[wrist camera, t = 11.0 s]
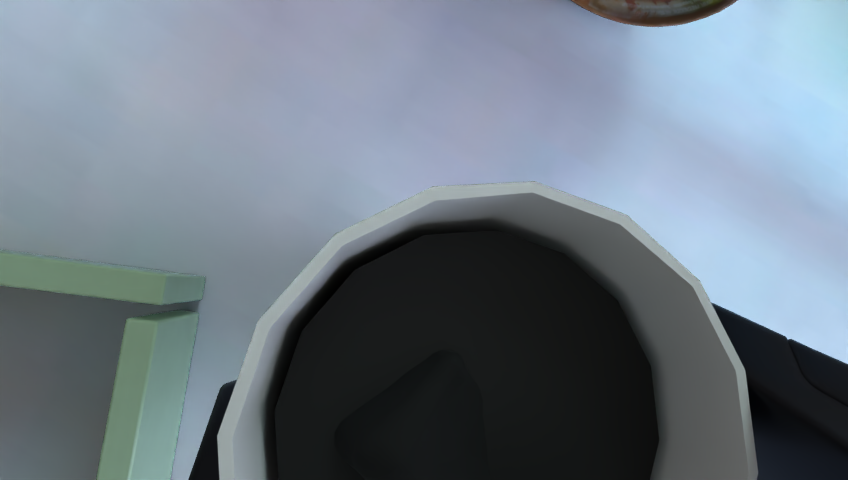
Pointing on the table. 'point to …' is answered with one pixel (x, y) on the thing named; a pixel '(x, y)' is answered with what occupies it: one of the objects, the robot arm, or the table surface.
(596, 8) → the tin
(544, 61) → the table surface
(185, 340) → the storage box
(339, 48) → the table surface
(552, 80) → the table surface
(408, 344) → the white cup
